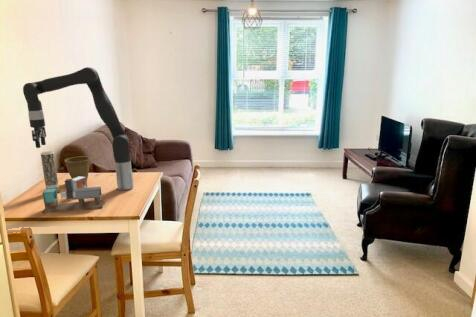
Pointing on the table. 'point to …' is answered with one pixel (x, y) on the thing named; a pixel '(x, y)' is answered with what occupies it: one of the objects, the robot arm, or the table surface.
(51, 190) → the socket
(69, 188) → the grey block with post
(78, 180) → the small box
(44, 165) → the paper tube
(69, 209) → the rig base
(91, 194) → the sleeve
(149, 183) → the table surface
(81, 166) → the plant pot
